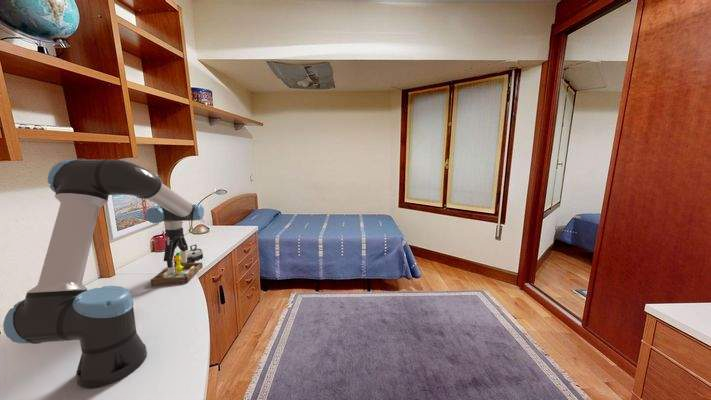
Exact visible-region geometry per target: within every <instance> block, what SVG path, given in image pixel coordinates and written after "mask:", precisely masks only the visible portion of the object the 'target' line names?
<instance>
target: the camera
mask: <svg viewBox="0 0 711 400" xmlns="http://www.w3.org/2000/svg"><path fill="white" fill-rule="evenodd" d="M197 245H198V244H197V243H195V244H192V245H190V246H189V249H190V250H186V255H187V263H196V262H198V261H199V260H200V259H201V260H203V259H204V253H203V249H202V248H197V247H198V246H197ZM193 246H194V248H193ZM174 258H176V254H174V256H173V259H174ZM202 258H203V259H202ZM180 259H181V257H180ZM201 260H200V261H201ZM195 261H196V262H195ZM174 264H177V263H176V262H174ZM180 264H186V263H181V261H180Z"/></svg>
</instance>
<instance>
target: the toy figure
mask: <svg viewBox="0 0 711 400" xmlns="http://www.w3.org/2000/svg"><path fill="white" fill-rule="evenodd" d="M175 255H176V258H174V257H173V260H174V262H176V263H177V266H176V267H175V270H176V271H177V272H178V273H176V274H175V275H176V276H177V275H180V272H181V271H182V269H183V268H184V266H183V267H182V266H181V265H180V261H181V260H182V259H180V251H178V252H175Z"/></svg>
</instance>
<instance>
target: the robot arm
mask: <svg viewBox="0 0 711 400" xmlns="http://www.w3.org/2000/svg"><path fill="white" fill-rule="evenodd" d="M47 183H48V184H49V188H50V189H51V191H52V192H53V193H54V198H55V199H56V200H57V201H59V203H60V204H59V208H58V212H57V215H56V219H55V222H54V225H53V228H52V233H51V236H50V240H49V243H48V247H47V250H46V254H45V256H44V257H45V258H44V261H43V264H42V265H43V266H42V268H41V272H40V275H39V279H38V282H37V285H35V286H34V287H33V288H31V289H29V290H28V291H27V292H26V294H25V298H24V299H23V300H20V301H18V302H17V303H15V304H13V307H11V308H10V309H9V310H8V311H7V312H6V315H5V317H4V319H3V324H2V325H3V327H2V328H3V333H4V335H5V336H6V337H7V338H8V339H10V340H11V341H12V342H14V343H17V344H32V345H33V344H34V345H38V344H42V343H51V342H55V343H56V342H64V341H65V342H67V341H79V343H80V348H81V349H80V350H81V355H80V358H79V362H78V366H77V369H76V371H75V378H76V383H77V385H78V386H79V387H80V388H85V389H88V388H89V389H90V388H91V389H92V388H97V387H102V386H106V385H108V384H111V383H114V382H116V381H118V380H120V379H122V378H125V377H127V376H128V375H130V374H131V373H133V372H134V371H136V369H138V368H139V367H140V366H141V365H142V364H143V363H144V362H145V360H146V359H147V356H148V352H147V346H146V343H144V342H143V340H142V339H141V337H140V336H139V334H138V332H137V326H136V318H135V309H134V304H135V303H134V300H133V297H132V293H131V292H130V290H129V289H128V288H127V287H124V286H119V285H106V286H105V285H104V286H102V287H93V288H91V289H88V288H87V286H85V285H84V284H83V279H84V275H85V271H86V267H87V263H88V260H89V259H88V258H89V256H90V255H89V253H90V251H91V250H90V249H91V246H92V242H93V241H92V240H93V237H94V232H95V228H96V224H97V220H98V216H99V211H100V208H101V207H103V206H104V205H106V204H108V201H109V196H117V195H121V196H123V195H125V196H134V197H136V198H139V199H142V200H143V199H144V200H148V201H150V202H151V203H154V204H155V205H154V206H151V207H149V208H148V209H146V211H145V215H144V216H145V219H146V220H147V221H148V222H149V223H152V224H159V223H164V224H163V225H164V233H165V237H167V238H169V240H166V241H165V248H164V249H165V250H164V254H163V255H164V256H163V262H166V266H167V267H168V273H175V268H174V264H175V263H174V260H173V259H174V255H175V253H176V251H175V250H176V249H177V248H178V249H179V250H180V251H179V252H180V257H181V259H182V260H181V263H187V255H186V251H189V248H188V247H189V245H188V243H187V241H186V238H185V234H184V227H183V223H184V222H185V221H186V222H187V221H191V222H192V221H194V222H195V221H201V220H202V219H203V218H204V215H205V208H204V206H203V205H202V204H196V203H195V204H192V203H191V202H189V201H188V200H187V199H186V198H184V197H183V196H181V195H179V194H178V193H177V192H175V191H174V190H173V189H171V188H169V187H168V186H167V185H165V184H163V181H162V179H161V178H160V177H159V176H158V175H156V174H155V173H153V172H152V171H150V170H148V169H146V168H145V167H142V166H140V165H138V164H136V163H133V162H131V161H130V162H129V161H127V160H122V159H113V158H112V159H111V158H110V159H85V158H75V159H66V160H62V161H59V162H58V163H56V164H54V165H53V166H52V167H51V169H50V170H49V172H48V175H47ZM167 267H166V268H167Z"/></svg>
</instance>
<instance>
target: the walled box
mask: <svg viewBox="0 0 711 400" xmlns="http://www.w3.org/2000/svg"><path fill="white" fill-rule="evenodd" d="M180 265H181V266H182V267H183V266H184V268H183V269H182V271H181V272H180V275H177V276H176V275H175V274H176V273H178V272H177V271H176V270H175V273H168V267H165V268H164V269H163V270H162V271H160V272H159V273H157V274H156V275H155V276H154V277H152V278H151V279H150V286H151V288H152V287H162V286H170V285H180V284H181V285H182V284H188V283H189V282H190V281H191V280H192V279H193V278H194V277H195V276H196V275H197V274H198V273H199V272H200V271H199V270H202V269H203V267H204V266H203V262H195V263H186V264H180ZM176 266H177V264H175V263H174V268H175V267H176Z"/></svg>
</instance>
